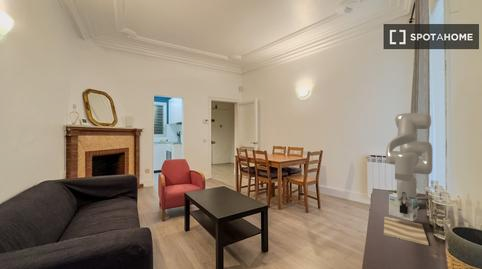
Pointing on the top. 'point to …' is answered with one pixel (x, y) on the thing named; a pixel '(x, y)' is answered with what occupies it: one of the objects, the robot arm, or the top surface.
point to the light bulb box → (395, 207)
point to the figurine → (393, 191)
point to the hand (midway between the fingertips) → (403, 210)
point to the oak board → (405, 230)
